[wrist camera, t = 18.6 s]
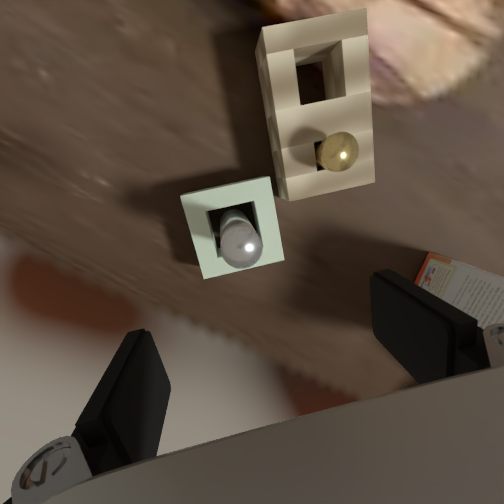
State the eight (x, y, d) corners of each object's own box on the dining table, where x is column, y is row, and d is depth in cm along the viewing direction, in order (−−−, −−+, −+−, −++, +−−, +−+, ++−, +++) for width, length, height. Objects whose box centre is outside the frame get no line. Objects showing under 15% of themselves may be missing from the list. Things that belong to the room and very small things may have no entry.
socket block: (254, 51, 28) (262, 27, 23) (341, 35, 29) (366, 7, 24) (279, 197, 33) (289, 201, 28) (353, 180, 34) (375, 182, 29)
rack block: (184, 193, 32) (179, 196, 28) (263, 175, 32) (269, 176, 28) (205, 267, 35) (203, 279, 31) (277, 250, 35) (284, 260, 31)
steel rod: (216, 212, 33) (216, 233, 21) (244, 206, 33) (258, 224, 22) (223, 239, 34) (226, 272, 22) (250, 233, 34) (266, 263, 23)
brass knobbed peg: (296, 144, 31) (320, 135, 24) (325, 138, 32) (357, 128, 24) (301, 174, 32) (325, 175, 25) (328, 168, 33) (359, 167, 25)
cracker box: (418, 336, 43) (590, 478, 23) (388, 330, 42) (542, 473, 22) (459, 259, 39) (704, 348, 20) (427, 250, 38) (654, 333, 18)
